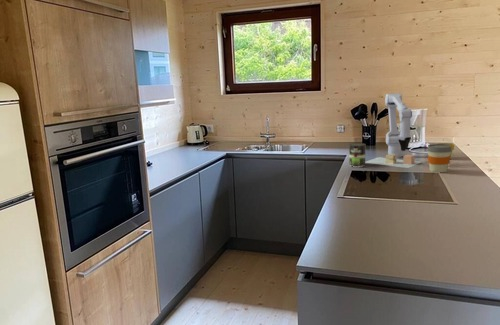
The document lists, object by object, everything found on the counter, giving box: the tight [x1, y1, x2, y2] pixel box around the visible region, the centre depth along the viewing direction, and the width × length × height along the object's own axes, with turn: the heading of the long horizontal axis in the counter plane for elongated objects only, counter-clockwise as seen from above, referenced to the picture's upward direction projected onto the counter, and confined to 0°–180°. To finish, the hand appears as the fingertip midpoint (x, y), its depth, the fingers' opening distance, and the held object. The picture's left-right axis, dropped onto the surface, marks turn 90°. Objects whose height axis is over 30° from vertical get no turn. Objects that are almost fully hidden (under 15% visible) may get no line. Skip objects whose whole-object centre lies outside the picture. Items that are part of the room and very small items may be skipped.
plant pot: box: [438, 142, 455, 156], centre depth 252 cm, size 10×10×10 cm
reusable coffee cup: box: [427, 143, 453, 173], centre depth 221 cm, size 12×13×15 cm
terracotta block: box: [402, 154, 416, 164], centre depth 243 cm, size 5×5×5 cm
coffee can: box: [348, 142, 367, 168], centre depth 246 cm, size 10×10×14 cm
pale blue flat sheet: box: [365, 156, 422, 169], centre depth 249 cm, size 20×30×1 cm, turn 44°
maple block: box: [385, 153, 398, 164], centre depth 247 cm, size 5×5×5 cm
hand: (404, 149), depth 242 cm, fingers open, 7 cm apart
